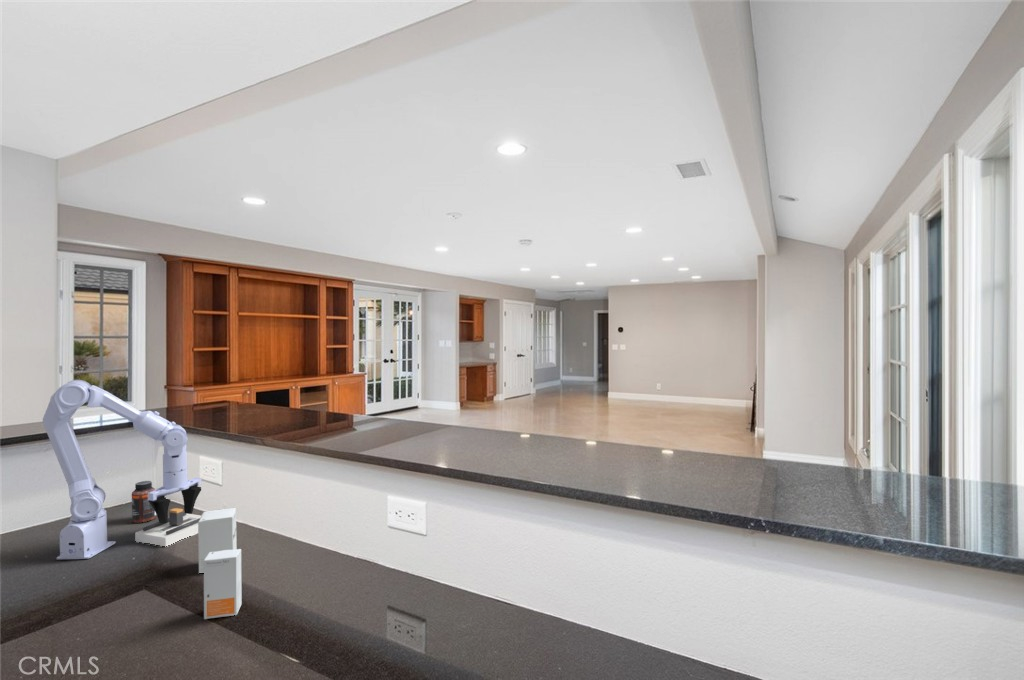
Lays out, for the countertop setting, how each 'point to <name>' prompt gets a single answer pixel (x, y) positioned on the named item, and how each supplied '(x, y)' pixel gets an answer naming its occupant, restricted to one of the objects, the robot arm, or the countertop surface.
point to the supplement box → (216, 533)
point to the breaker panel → (169, 531)
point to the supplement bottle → (142, 503)
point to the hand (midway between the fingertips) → (176, 518)
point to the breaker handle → (176, 516)
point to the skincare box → (222, 583)
